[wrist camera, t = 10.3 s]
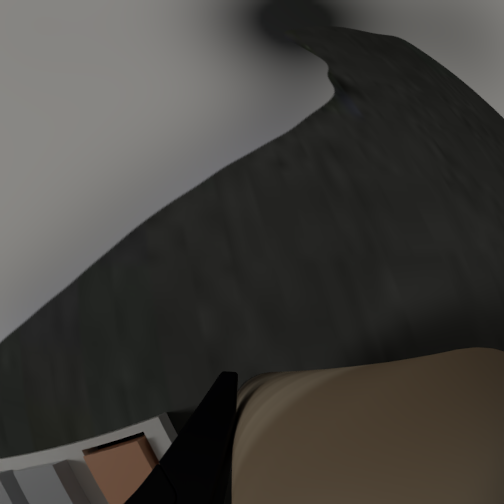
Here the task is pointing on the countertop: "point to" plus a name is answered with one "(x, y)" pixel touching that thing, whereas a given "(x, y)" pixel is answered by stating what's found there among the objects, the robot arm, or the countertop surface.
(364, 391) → the tan banded cylinder
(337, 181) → the countertop surface
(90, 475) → the keypad
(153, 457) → the terracotta key
